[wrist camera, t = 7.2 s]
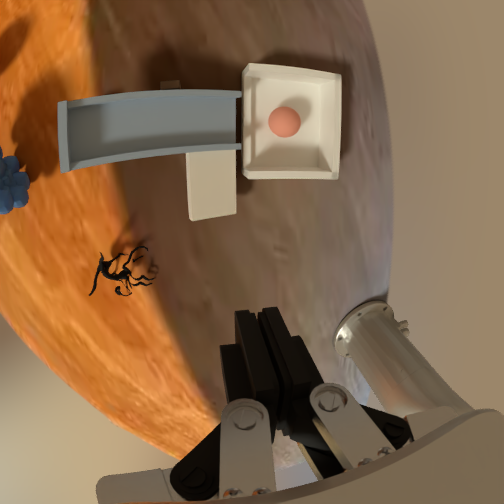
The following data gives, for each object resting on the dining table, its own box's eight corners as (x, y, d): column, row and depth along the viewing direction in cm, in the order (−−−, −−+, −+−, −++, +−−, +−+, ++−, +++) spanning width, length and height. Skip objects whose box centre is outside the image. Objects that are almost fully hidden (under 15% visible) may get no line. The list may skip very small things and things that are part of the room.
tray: (323, 80, 28) (341, 74, 24) (321, 173, 33) (338, 179, 29) (241, 72, 26) (249, 63, 22) (241, 173, 31) (248, 179, 27)
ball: (297, 108, 28) (304, 106, 25) (297, 138, 29) (303, 138, 26) (266, 107, 28) (269, 104, 25) (266, 136, 29) (269, 137, 26)
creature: (162, 248, 34) (104, 229, 29) (168, 271, 30) (100, 251, 25) (143, 295, 36) (89, 281, 32) (146, 321, 32) (86, 307, 27)
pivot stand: (184, 88, 25) (182, 79, 21) (185, 151, 28) (183, 154, 24) (162, 89, 25) (157, 82, 21) (163, 153, 28) (158, 156, 24)
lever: (229, 93, 25) (245, 89, 23) (230, 210, 31) (245, 218, 28) (63, 106, 18) (57, 101, 15) (77, 240, 23) (75, 252, 20)
